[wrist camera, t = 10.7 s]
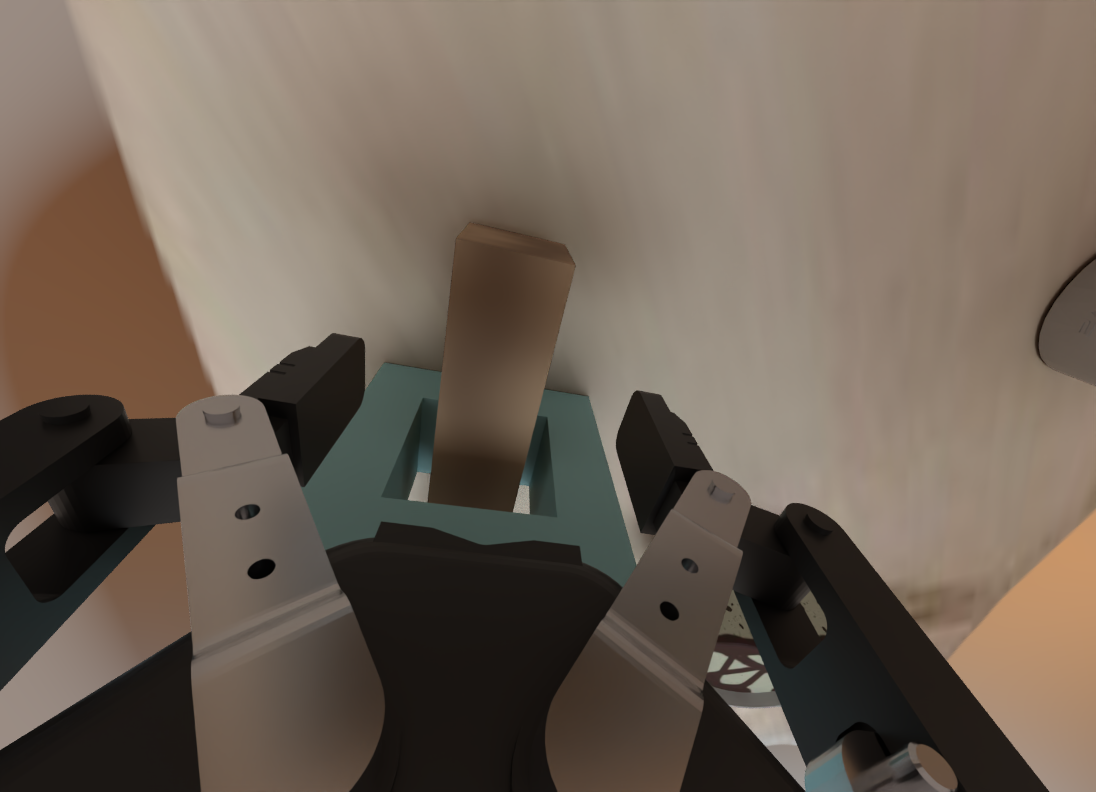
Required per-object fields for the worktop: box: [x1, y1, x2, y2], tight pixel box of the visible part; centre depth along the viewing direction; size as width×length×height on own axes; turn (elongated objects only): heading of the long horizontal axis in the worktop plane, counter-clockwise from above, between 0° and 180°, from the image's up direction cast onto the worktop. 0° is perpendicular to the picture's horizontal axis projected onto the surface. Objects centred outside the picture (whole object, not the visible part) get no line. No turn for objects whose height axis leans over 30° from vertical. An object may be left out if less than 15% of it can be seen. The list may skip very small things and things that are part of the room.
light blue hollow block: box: [301, 363, 636, 587], centre depth 19 cm, size 12×5×13 cm, turn 77°
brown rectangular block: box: [428, 222, 576, 512], centre depth 20 cm, size 4×20×4 cm, turn 167°
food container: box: [706, 590, 827, 708], centre depth 28 cm, size 12×6×10 cm, turn 80°
